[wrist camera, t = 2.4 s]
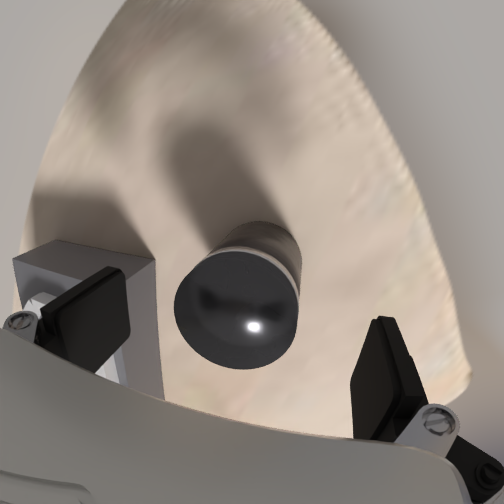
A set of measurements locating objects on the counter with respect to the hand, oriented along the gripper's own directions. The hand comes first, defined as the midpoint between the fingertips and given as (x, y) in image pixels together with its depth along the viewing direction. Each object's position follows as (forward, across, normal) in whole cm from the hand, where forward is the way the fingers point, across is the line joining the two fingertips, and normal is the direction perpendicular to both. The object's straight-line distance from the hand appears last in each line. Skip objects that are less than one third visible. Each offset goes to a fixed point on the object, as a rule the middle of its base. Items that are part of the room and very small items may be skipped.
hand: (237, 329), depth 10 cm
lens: (+8, +1, 0) cm, 8 cm away
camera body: (+8, +13, +10) cm, 18 cm away
